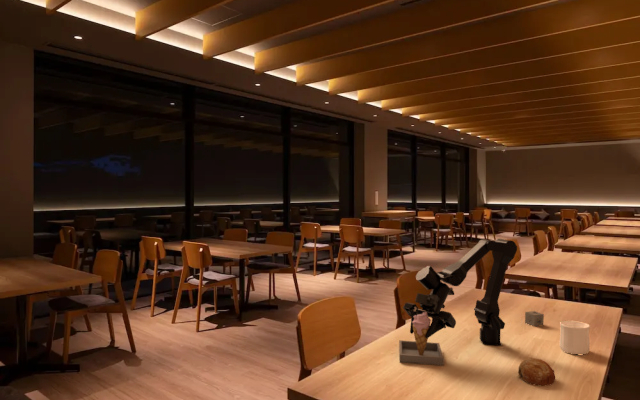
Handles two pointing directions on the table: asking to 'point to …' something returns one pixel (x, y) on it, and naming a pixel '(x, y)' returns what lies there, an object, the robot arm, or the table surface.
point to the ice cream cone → (421, 331)
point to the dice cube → (534, 318)
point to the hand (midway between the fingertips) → (418, 335)
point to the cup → (574, 337)
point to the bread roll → (536, 372)
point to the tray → (411, 355)
